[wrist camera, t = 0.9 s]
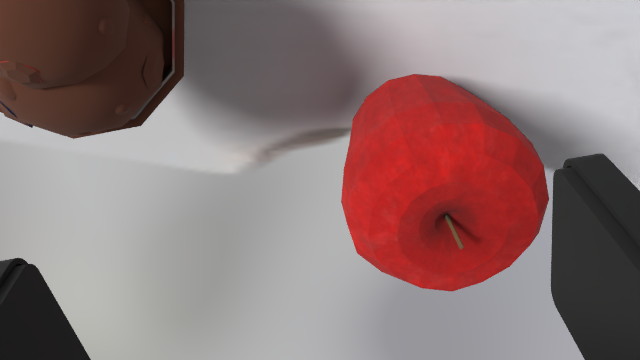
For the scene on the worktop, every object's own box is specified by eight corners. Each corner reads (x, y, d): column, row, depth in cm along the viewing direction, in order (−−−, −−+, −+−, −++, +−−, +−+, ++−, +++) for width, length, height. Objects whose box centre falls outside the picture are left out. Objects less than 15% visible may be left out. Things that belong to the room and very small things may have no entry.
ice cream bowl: (-15, -99, 31) (-237, -55, 18) (183, -143, 30) (100, -130, 17) (65, 83, 36) (-62, 216, 24) (235, 49, 36) (201, 167, 23)
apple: (505, 54, 37) (603, 154, 25) (472, 191, 42) (541, 327, 30) (340, 45, 36) (361, 143, 24) (327, 185, 41) (340, 322, 29)
